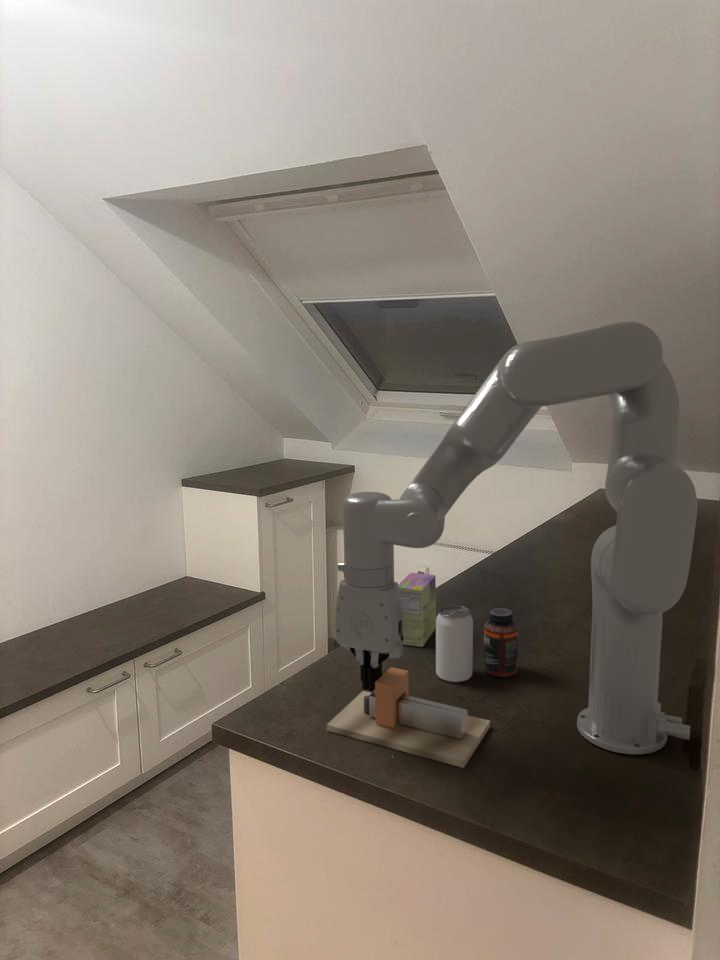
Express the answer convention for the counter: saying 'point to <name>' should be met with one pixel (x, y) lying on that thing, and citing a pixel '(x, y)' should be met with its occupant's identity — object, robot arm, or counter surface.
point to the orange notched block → (390, 695)
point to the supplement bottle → (501, 644)
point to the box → (418, 608)
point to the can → (454, 644)
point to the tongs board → (408, 734)
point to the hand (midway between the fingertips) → (371, 686)
